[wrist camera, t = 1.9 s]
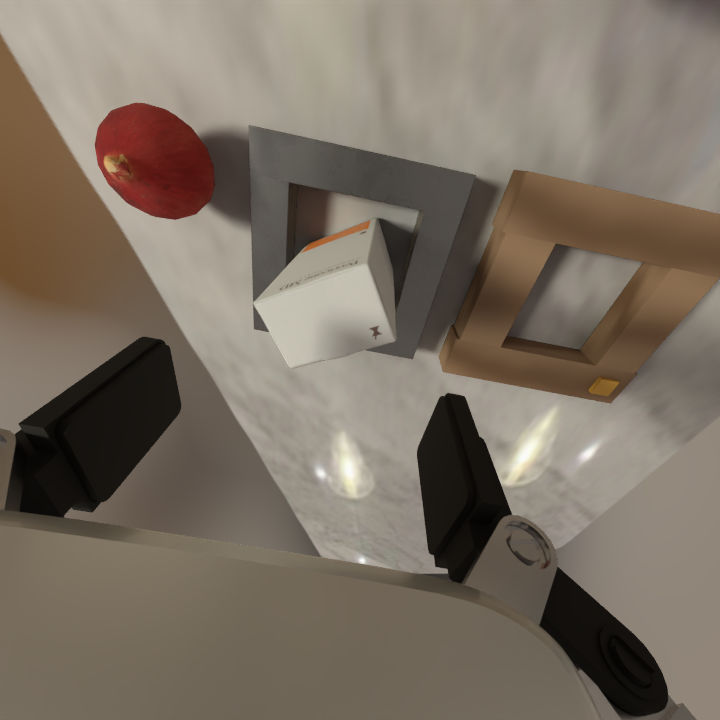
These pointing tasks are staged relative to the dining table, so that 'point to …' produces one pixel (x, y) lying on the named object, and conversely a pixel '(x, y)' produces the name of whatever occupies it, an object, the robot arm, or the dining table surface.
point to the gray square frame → (361, 179)
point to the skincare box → (333, 298)
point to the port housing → (595, 233)
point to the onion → (154, 161)
